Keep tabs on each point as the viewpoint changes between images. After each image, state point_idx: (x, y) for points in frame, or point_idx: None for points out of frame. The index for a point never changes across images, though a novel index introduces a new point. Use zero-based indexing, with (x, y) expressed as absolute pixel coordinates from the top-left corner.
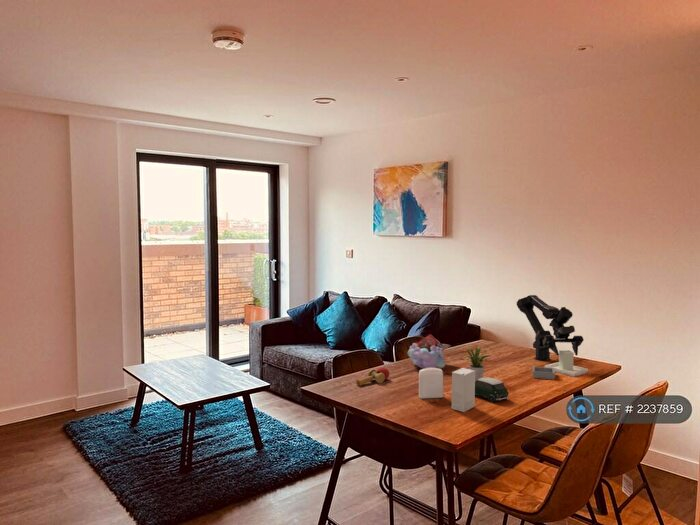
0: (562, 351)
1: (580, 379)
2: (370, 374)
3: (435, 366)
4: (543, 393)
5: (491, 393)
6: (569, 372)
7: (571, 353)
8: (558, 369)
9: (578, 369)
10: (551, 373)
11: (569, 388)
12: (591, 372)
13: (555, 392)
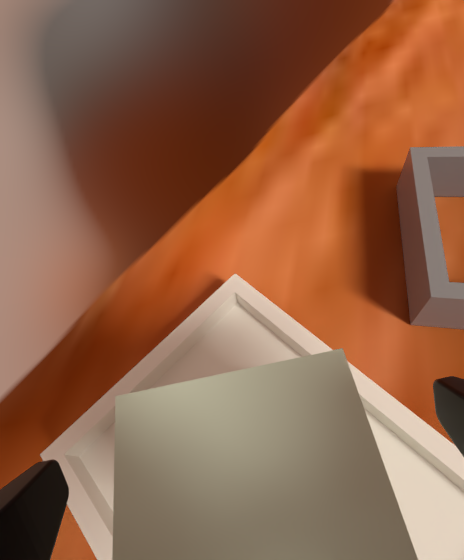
0: (357, 515)
1: (210, 238)
2: None
3: None
4: (439, 6)
5: None
6: (268, 302)
7: (165, 392)
8: (371, 381)
9: None
10: (436, 150)
11: (315, 82)
12: None
13: (386, 28)
